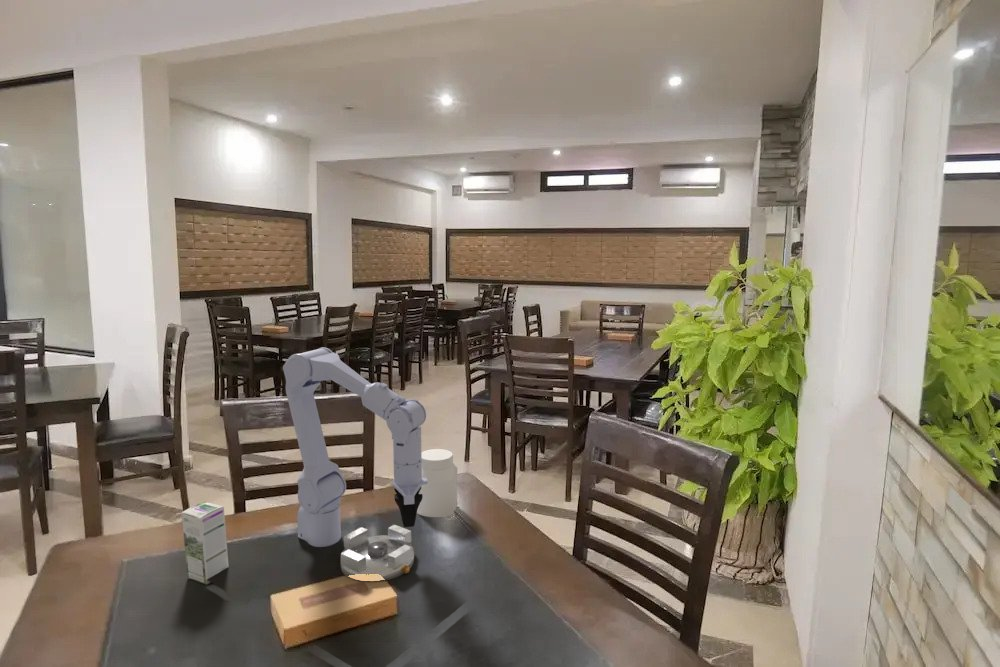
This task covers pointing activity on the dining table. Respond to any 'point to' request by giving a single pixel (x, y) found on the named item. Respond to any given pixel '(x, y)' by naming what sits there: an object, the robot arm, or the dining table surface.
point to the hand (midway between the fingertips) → (408, 522)
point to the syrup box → (204, 541)
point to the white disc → (378, 553)
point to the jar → (438, 484)
